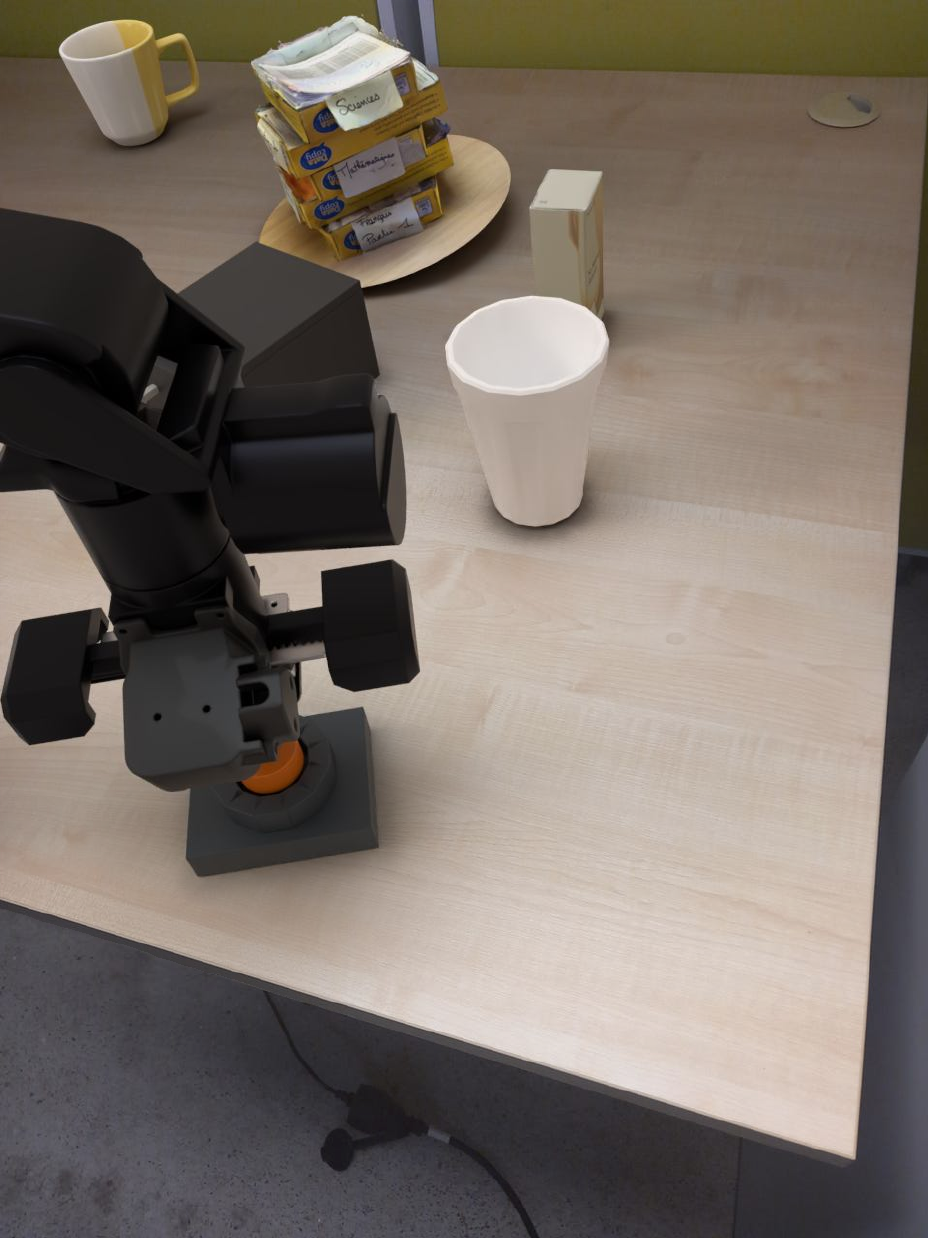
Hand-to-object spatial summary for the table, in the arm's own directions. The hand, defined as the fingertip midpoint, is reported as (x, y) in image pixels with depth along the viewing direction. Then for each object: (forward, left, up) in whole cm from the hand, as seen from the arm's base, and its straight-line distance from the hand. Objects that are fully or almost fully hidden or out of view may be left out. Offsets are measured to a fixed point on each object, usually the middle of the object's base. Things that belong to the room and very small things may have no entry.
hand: (261, 746), depth 54 cm
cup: (+18, +21, -6) cm, 28 cm away
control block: (0, 0, -6) cm, 6 cm away
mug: (-15, +92, -6) cm, 93 cm away
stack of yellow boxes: (+10, +62, -6) cm, 63 cm away
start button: (0, 0, -2) cm, 2 cm away
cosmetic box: (+24, +40, -6) cm, 47 cm away
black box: (-1, +38, -6) cm, 38 cm away
